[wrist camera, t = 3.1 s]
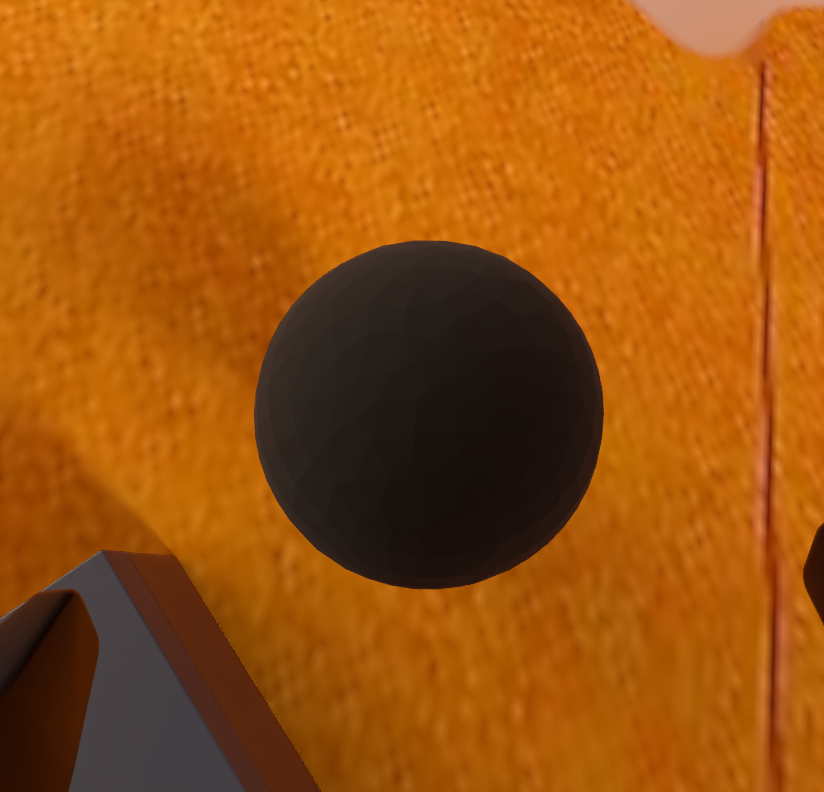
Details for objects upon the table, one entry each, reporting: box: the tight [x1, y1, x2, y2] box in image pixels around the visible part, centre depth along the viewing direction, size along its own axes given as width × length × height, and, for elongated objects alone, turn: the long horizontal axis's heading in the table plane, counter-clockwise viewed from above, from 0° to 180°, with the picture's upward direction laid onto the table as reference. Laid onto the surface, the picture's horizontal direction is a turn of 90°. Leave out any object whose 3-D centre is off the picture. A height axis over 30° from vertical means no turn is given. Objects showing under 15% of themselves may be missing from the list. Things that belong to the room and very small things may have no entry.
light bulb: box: [254, 241, 604, 589], centre depth 13 cm, size 6×6×10 cm
